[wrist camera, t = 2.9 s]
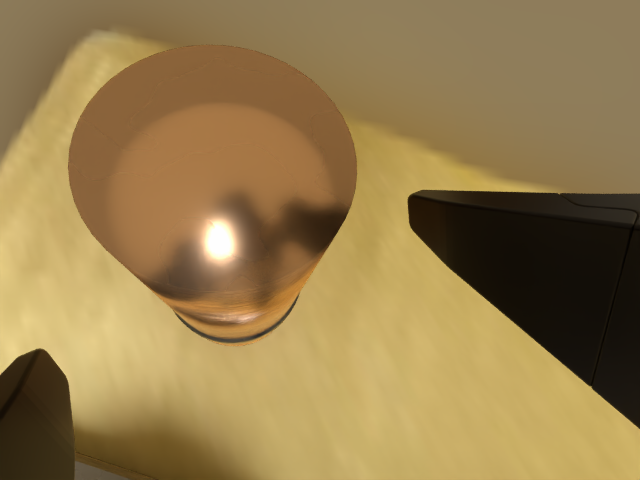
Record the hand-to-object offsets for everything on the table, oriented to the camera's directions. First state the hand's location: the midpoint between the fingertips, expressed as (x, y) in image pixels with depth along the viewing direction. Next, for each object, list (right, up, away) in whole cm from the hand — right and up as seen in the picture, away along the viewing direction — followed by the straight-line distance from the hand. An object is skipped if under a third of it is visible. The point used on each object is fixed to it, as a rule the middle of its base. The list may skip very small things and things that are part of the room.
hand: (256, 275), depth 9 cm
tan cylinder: (-2, -1, +9) cm, 9 cm away
